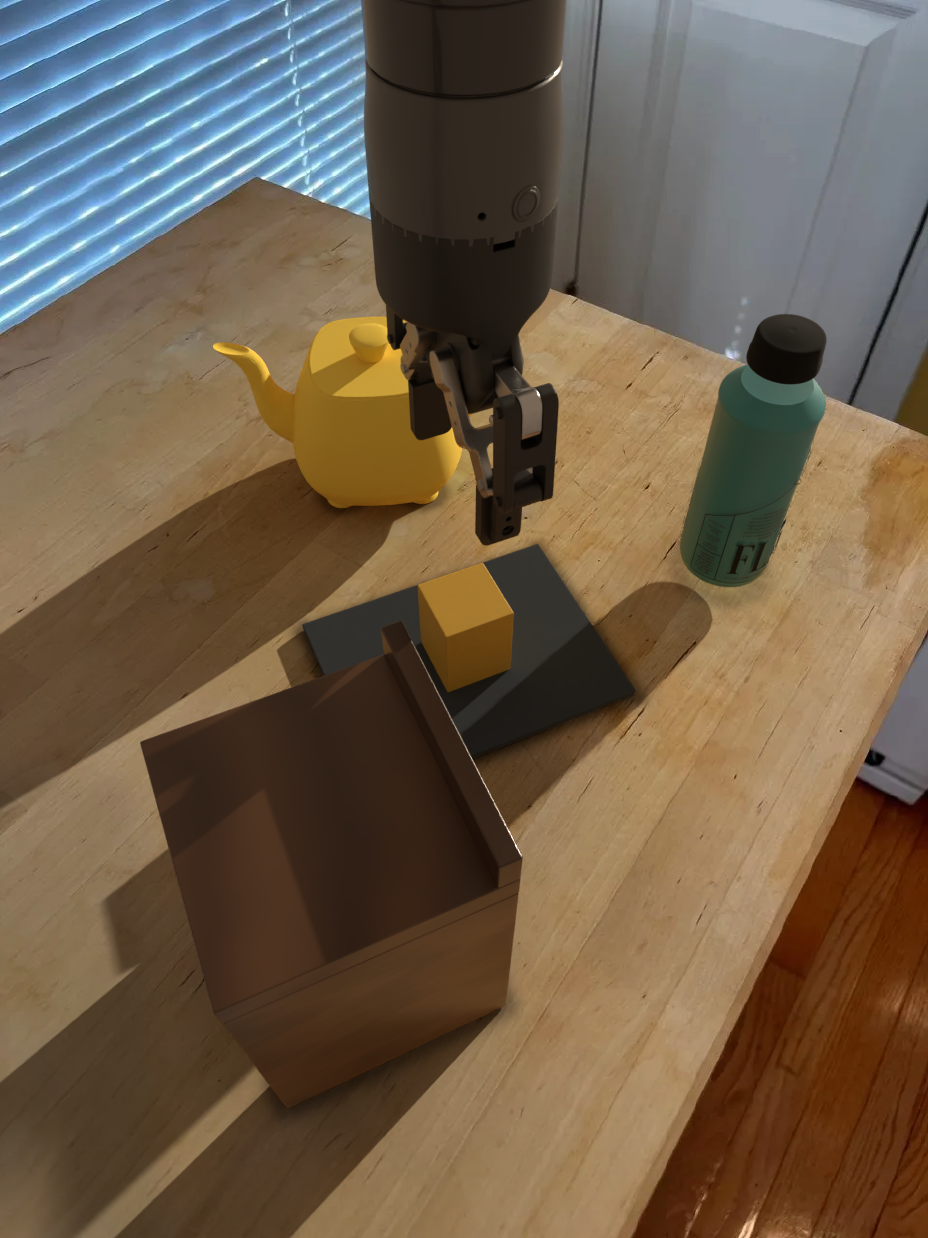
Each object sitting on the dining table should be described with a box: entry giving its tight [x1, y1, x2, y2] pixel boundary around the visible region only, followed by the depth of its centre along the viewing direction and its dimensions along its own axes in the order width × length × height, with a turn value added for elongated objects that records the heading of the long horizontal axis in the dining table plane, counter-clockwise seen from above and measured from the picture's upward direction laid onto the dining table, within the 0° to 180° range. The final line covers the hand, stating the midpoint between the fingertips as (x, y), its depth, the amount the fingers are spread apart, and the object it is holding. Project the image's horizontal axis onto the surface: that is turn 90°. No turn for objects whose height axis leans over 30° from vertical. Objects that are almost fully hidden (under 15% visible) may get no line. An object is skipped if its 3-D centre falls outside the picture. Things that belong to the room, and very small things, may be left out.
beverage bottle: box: [677, 313, 828, 588], centre depth 60 cm, size 6×7×20 cm
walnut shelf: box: [139, 621, 524, 1109], centre depth 44 cm, size 12×12×19 cm
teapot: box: [212, 315, 473, 509], centre depth 69 cm, size 13×20×12 cm
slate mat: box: [302, 543, 637, 760], centre depth 62 cm, size 18×14×1 cm
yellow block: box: [417, 562, 514, 692], centre depth 60 cm, size 4×4×6 cm
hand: (463, 482), depth 50 cm, fingers open, 8 cm apart
